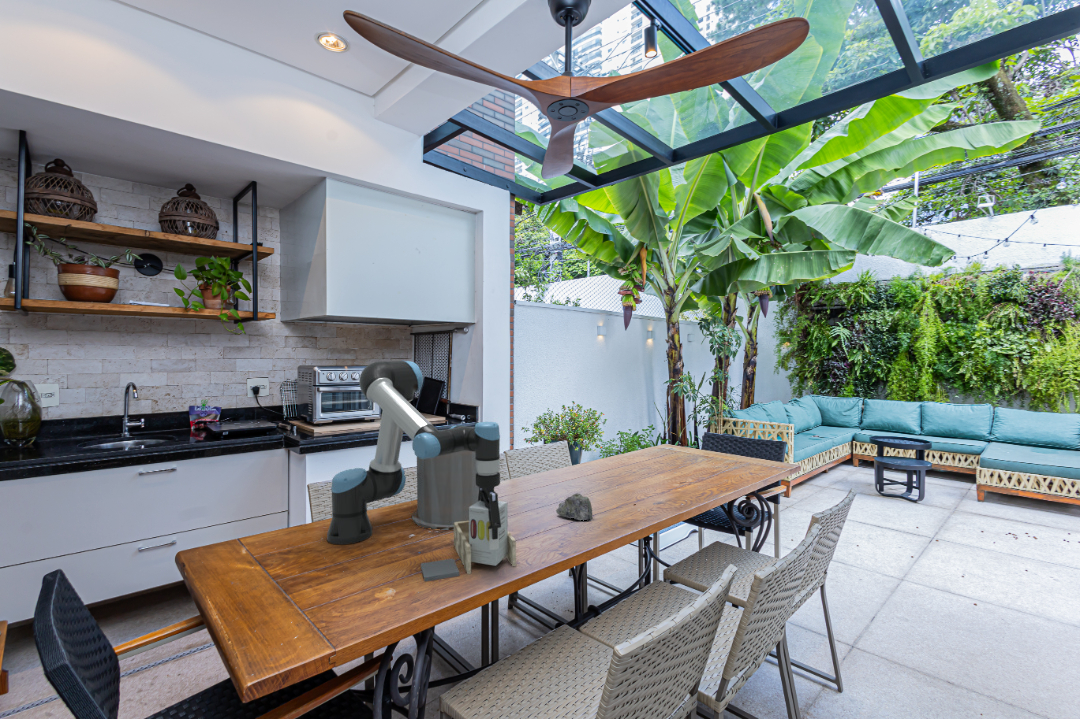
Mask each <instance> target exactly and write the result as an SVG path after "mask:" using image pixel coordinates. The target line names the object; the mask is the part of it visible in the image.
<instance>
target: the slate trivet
mask: <svg viewBox="0 0 1080 719" xmlns="http://www.w3.org/2000/svg"><path fill="white" fill-rule="evenodd" d="M455 561H456V560H455V559H454V558H448V559H447V558H446V559H442V560H435V561H429V562H421V563H420V569H421V573H422V577H423V580H424V582H425V583H426V582H431V581H432V582H433V581H437V580H441V579H449V578H454V577H460V571H459V568H458V566H457V564H456V562H455Z"/></svg>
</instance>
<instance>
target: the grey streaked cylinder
mask: <svg viewBox="0 0 1080 719" xmlns="http://www.w3.org/2000/svg"><path fill="white" fill-rule="evenodd" d="M476 474H477V472H476V471H475V452H473V451H466V450H464V451H459V452H455V453H450V454H445V455H441V456H437V457H434V458H426V459H421V458H418V457H417V456H416V495H417V496H416V498H417V501H416V505H417V506H416V507H417V508H416V509H415V510H414V511H413V512H412V515H411V520H413V521H412V523H413V522H414V523H415V524H417V525H418V526H417V525H416V526H417V527H419V526H421V527H420V528H422V527H424V528H423V529H425V528H431V529H440V530H454V522H460V521H468V520H469V507H470V506H472V505H473V504H475V503H476V502H478V495H479V487H478V486H477V485H476ZM414 523H413V524H414ZM415 524H414V525H415Z"/></svg>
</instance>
